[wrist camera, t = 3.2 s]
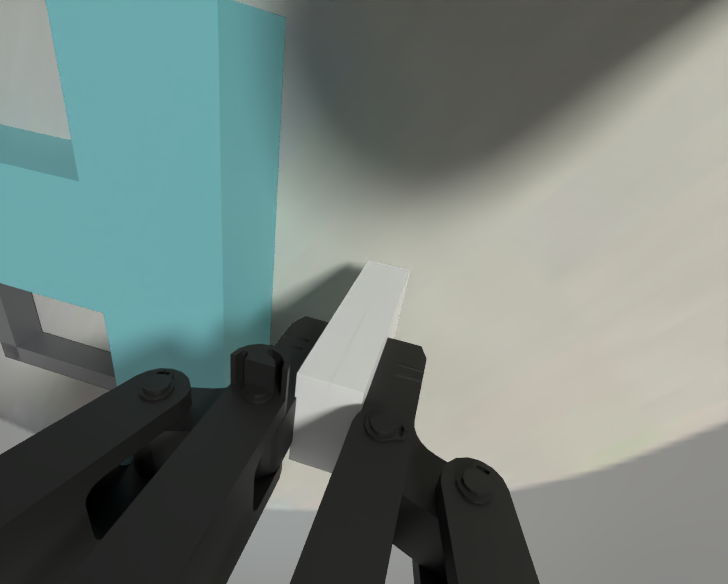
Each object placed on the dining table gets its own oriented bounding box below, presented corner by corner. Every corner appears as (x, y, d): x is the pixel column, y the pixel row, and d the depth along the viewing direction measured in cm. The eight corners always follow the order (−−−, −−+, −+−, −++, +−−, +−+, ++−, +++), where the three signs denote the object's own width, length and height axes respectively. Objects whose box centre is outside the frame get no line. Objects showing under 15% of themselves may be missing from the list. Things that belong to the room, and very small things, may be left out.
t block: (285, 17, 13) (217, -5, 10) (267, 390, 21) (225, 451, 18) (-110, -46, 16) (-278, -82, 12) (4, 311, 23) (-79, 351, 20)
